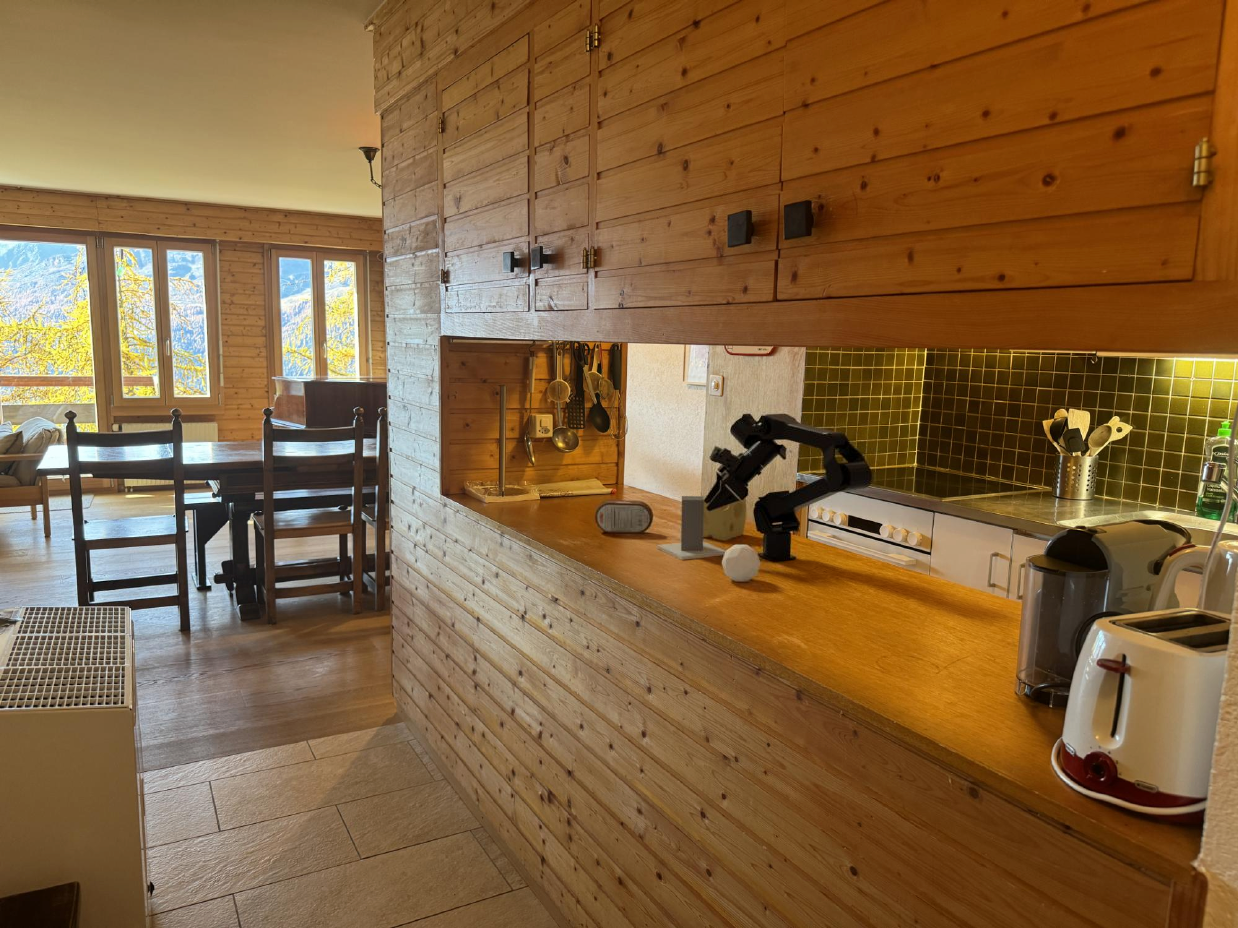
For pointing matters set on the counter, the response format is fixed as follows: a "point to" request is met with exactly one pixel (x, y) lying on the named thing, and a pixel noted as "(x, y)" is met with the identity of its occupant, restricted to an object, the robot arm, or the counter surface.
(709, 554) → the tile
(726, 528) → the cheese
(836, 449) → the robot arm
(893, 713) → the counter surface
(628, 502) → the tin
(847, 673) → the counter surface
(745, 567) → the ball
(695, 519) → the block
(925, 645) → the counter surface
